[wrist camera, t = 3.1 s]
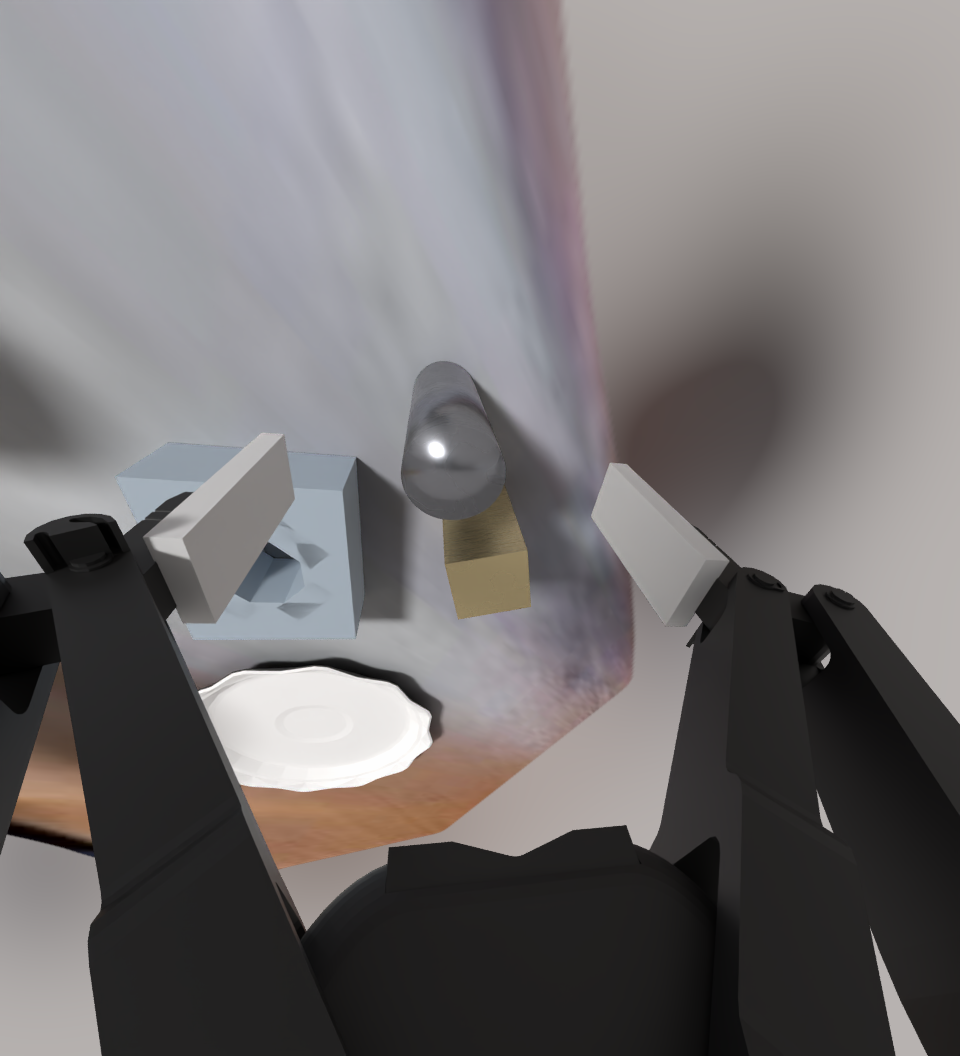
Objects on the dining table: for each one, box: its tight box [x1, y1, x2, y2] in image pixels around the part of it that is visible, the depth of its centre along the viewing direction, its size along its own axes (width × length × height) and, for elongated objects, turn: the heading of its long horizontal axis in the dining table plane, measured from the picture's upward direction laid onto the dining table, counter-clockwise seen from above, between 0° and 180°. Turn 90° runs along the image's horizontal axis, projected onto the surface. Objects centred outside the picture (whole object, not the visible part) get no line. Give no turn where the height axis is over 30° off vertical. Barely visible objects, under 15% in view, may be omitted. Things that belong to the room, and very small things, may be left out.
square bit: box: [443, 485, 531, 619], centre depth 25 cm, size 5×5×10 cm
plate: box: [198, 665, 433, 792], centre depth 45 cm, size 29×29×2 cm
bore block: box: [115, 442, 365, 640], centre depth 27 cm, size 14×12×5 cm
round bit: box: [401, 361, 506, 520], centre depth 19 cm, size 4×4×12 cm
